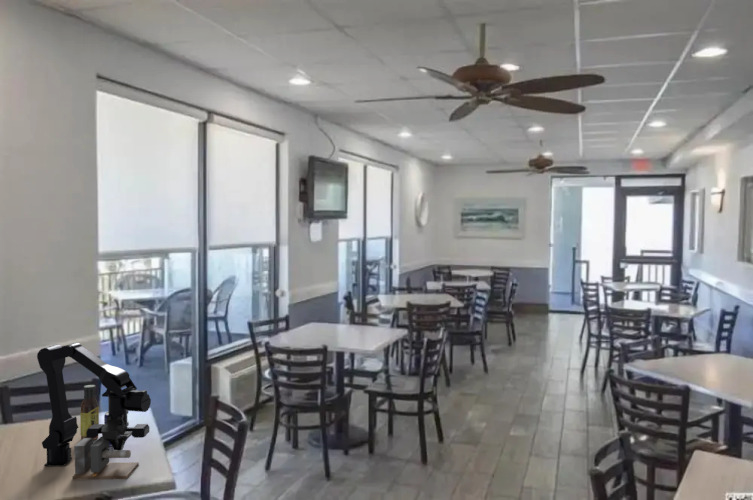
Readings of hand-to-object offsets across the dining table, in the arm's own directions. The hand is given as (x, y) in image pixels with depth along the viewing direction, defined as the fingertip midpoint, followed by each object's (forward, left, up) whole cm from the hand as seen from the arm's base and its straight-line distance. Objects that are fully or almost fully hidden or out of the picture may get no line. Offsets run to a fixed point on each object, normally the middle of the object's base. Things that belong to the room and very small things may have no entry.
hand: (118, 456), depth 209 cm
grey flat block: (-5, -3, -2) cm, 6 cm away
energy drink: (-10, +21, -4) cm, 23 cm away
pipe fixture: (-3, -3, -4) cm, 6 cm away
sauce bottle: (-21, +28, -4) cm, 35 cm away
